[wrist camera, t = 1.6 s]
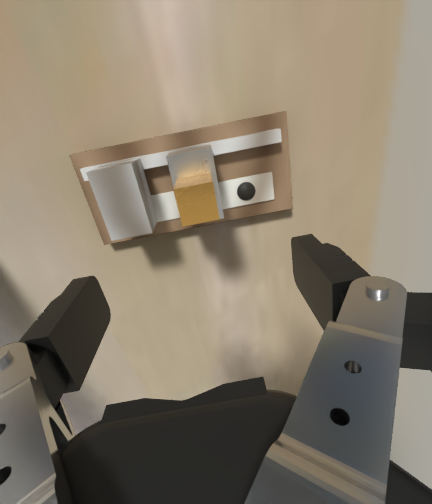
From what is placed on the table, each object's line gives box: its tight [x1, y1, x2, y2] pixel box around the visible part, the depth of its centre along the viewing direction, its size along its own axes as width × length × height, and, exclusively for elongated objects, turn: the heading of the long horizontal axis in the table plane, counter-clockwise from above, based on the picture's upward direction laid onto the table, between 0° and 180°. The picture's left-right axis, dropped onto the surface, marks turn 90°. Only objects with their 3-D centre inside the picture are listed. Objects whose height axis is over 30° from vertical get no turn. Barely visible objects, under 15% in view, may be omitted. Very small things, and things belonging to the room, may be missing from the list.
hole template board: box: [69, 111, 293, 245], centre depth 28 cm, size 22×10×6 cm, turn 100°
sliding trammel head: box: [166, 145, 224, 227], centre depth 25 cm, size 4×6×9 cm, turn 10°
